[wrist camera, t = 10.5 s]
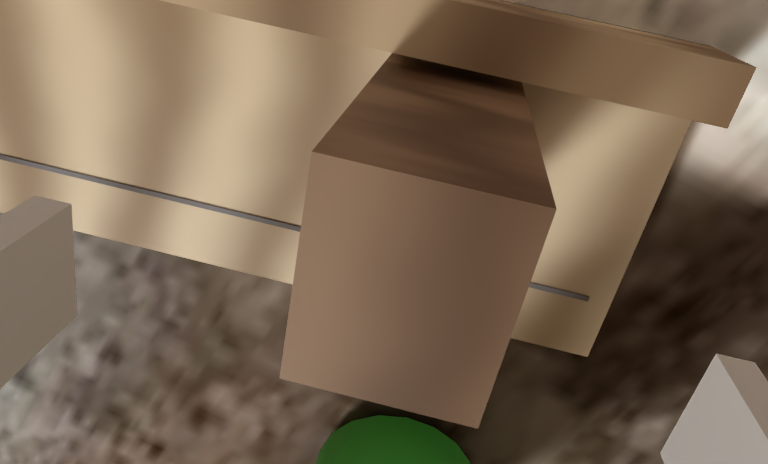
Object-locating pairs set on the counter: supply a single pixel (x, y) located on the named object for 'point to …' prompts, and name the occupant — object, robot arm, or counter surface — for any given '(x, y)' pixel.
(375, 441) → the bottle
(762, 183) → the counter surface
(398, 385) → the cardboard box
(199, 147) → the board
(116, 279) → the counter surface
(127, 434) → the counter surface
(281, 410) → the counter surface
